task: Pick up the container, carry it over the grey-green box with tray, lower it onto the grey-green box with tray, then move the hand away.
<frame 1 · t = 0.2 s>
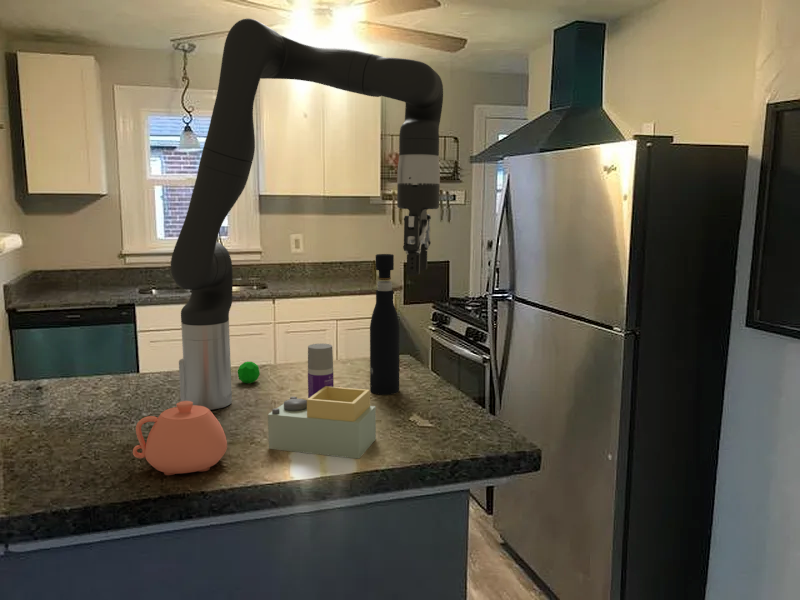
hand: (417, 272, 118), 28 cm above the counter, tool pointing down, fingers open, 8 cm apart
container: (321, 425, 121), on the counter
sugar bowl: (181, 466, 102), on the counter
polyhedron: (249, 383, 149), on the counter
wine bottle: (384, 391, 143), on the counter
grey-green box with tray: (323, 443, 111), on the counter
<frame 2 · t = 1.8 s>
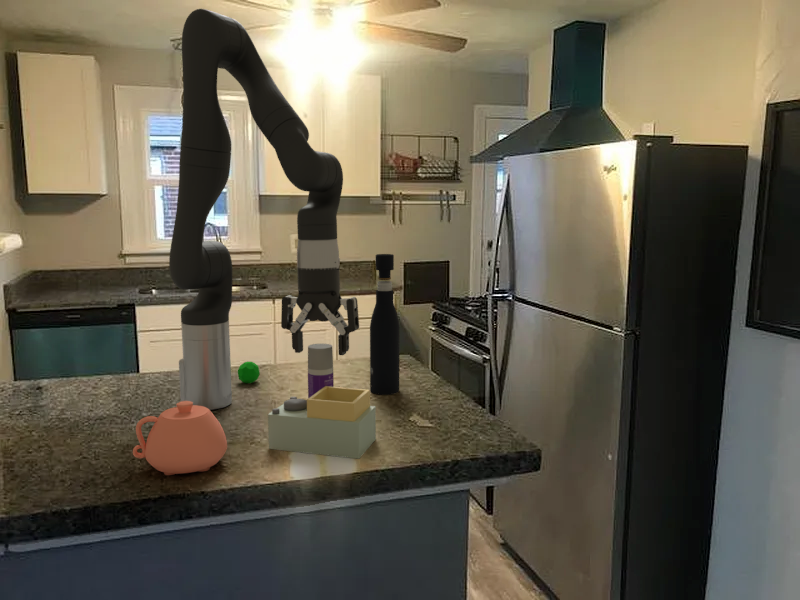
hand: (320, 353, 119), 14 cm above the counter, tool pointing down, fingers open, 8 cm apart
nothing on the counter moved.
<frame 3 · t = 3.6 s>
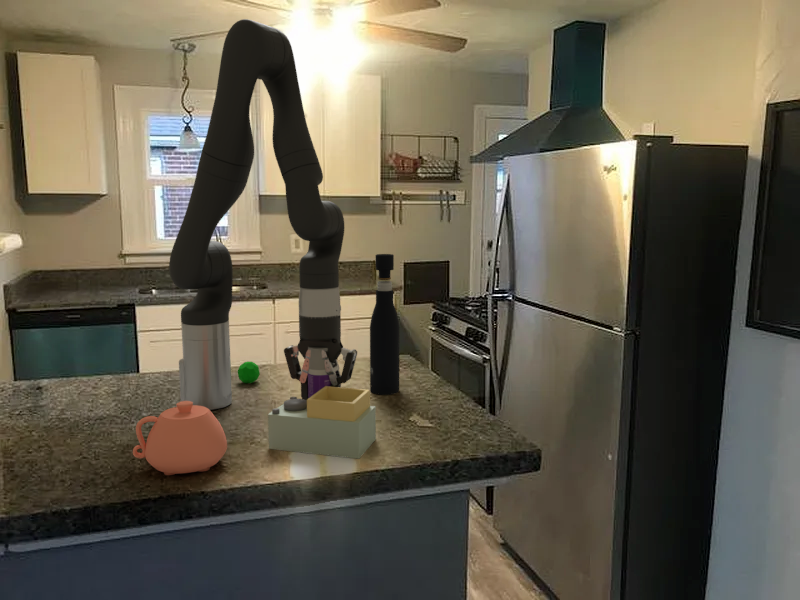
hand: (321, 402, 120), 4 cm above the counter, tool pointing down, fingers closed on container, 4 cm apart
container: (321, 425, 121), on the counter, touching gripper
everything else where it was.
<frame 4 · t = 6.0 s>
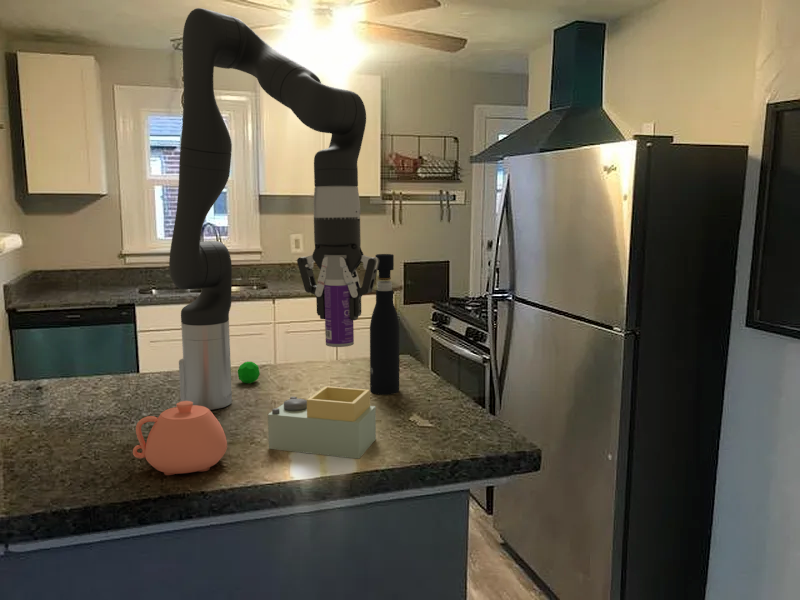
hand: (339, 318, 108), 22 cm above the counter, tool pointing down, fingers closed on container, 4 cm apart
container: (339, 345, 108), point 17 cm above the counter, touching gripper
everything else where it was.
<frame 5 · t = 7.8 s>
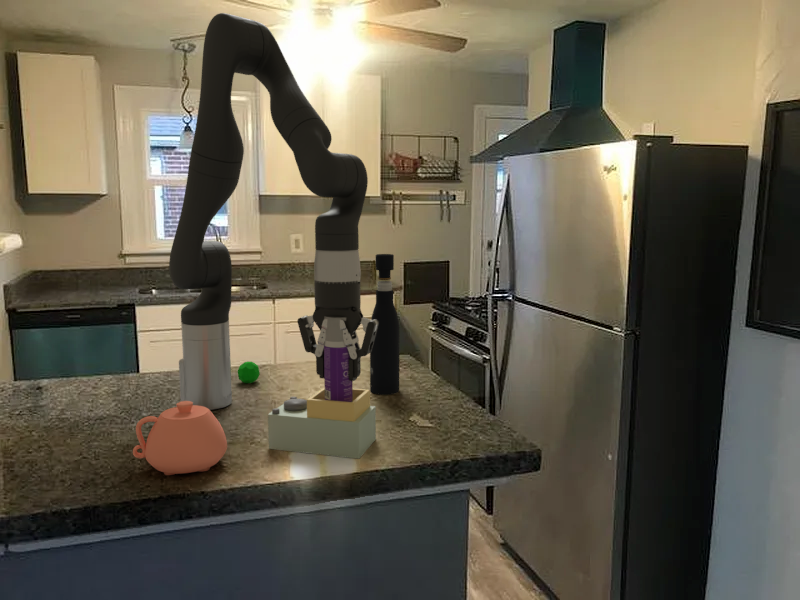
hand: (338, 378, 109), 12 cm above the counter, tool pointing down, fingers closed on container, 4 cm apart
container: (338, 404, 110), point 7 cm above the counter, touching gripper
everything else where it was.
when the fingers open (11 cm above the counter, at t = 8.8 s): container stays where it is, resting on grey-green box with tray.
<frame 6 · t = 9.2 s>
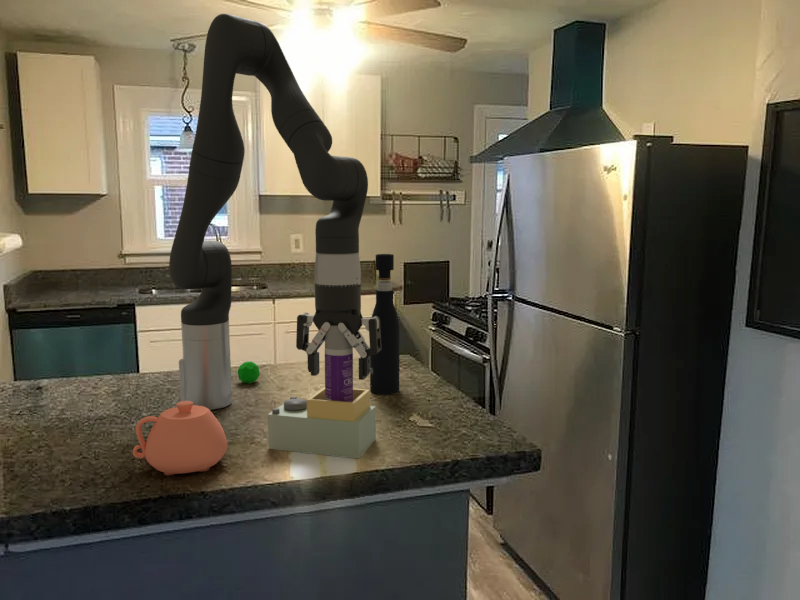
hand: (338, 376, 109), 12 cm above the counter, tool pointing down, fingers open, 8 cm apart
container: (339, 412, 110), point 6 cm above the counter, touching grey-green box with tray
everything else where it was.
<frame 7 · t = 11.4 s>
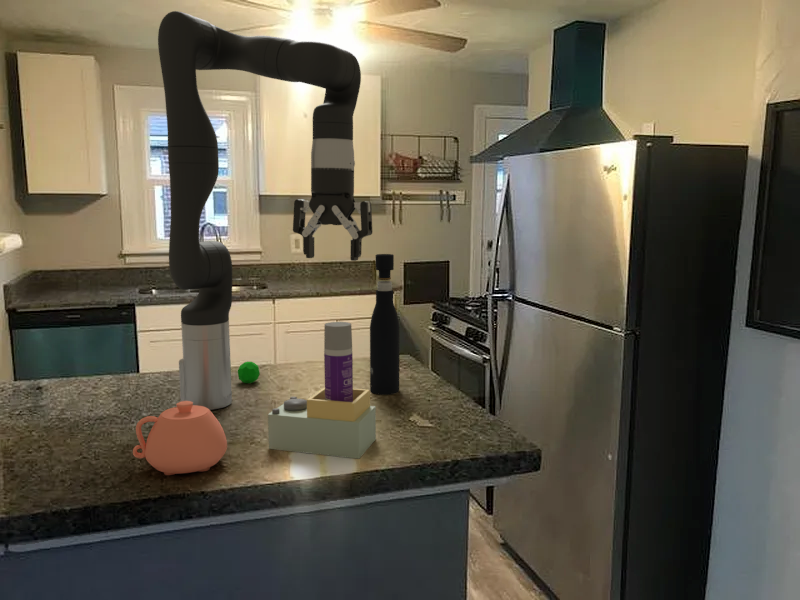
hand: (332, 259, 116), 31 cm above the counter, tool pointing down, fingers open, 8 cm apart
nothing on the counter moved.
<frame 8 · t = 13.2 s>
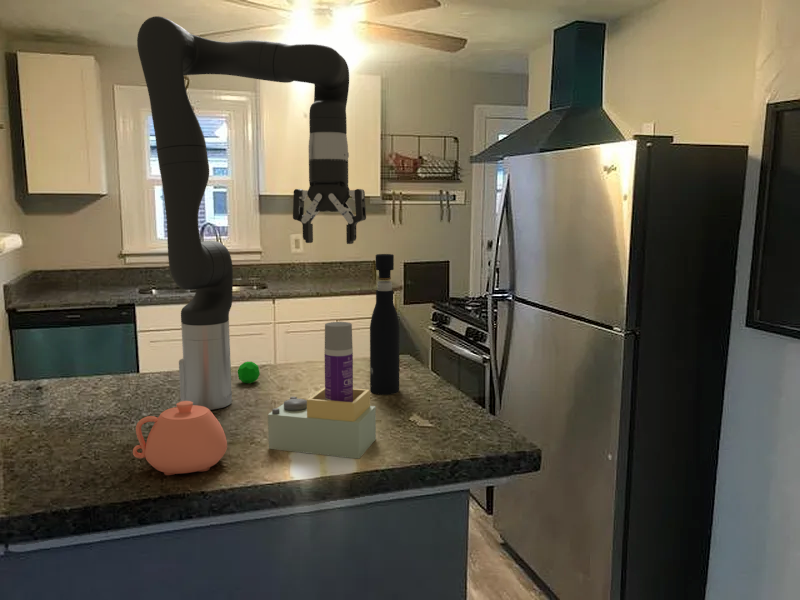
hand: (329, 243, 127), 33 cm above the counter, tool pointing down, fingers open, 8 cm apart
nothing on the counter moved.
at the end: container 0.1 cm from the target spot on the grey-green box with tray, point 5.8 cm above the grey-green box with tray's base; container tilted 0°; the gripper is holding nothing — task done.
